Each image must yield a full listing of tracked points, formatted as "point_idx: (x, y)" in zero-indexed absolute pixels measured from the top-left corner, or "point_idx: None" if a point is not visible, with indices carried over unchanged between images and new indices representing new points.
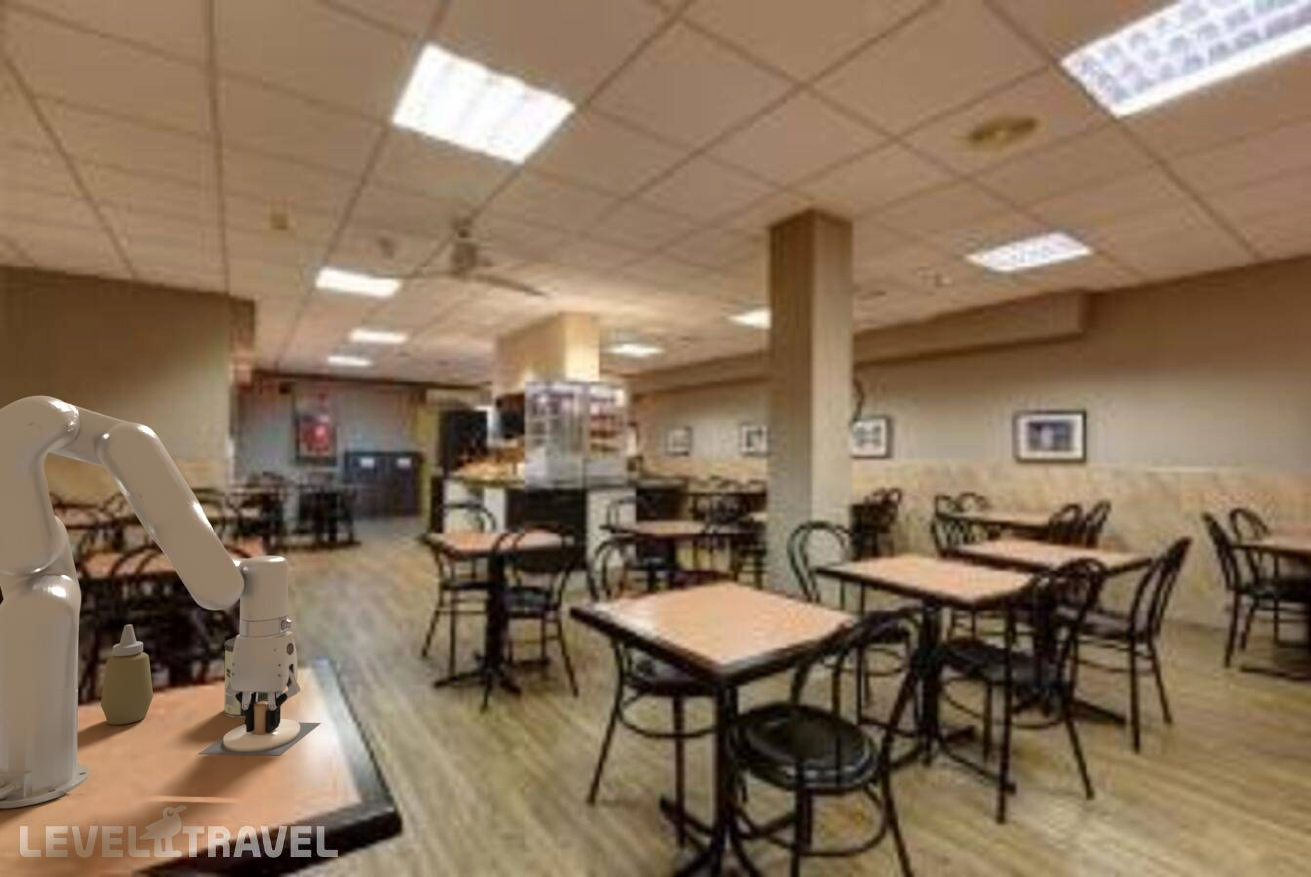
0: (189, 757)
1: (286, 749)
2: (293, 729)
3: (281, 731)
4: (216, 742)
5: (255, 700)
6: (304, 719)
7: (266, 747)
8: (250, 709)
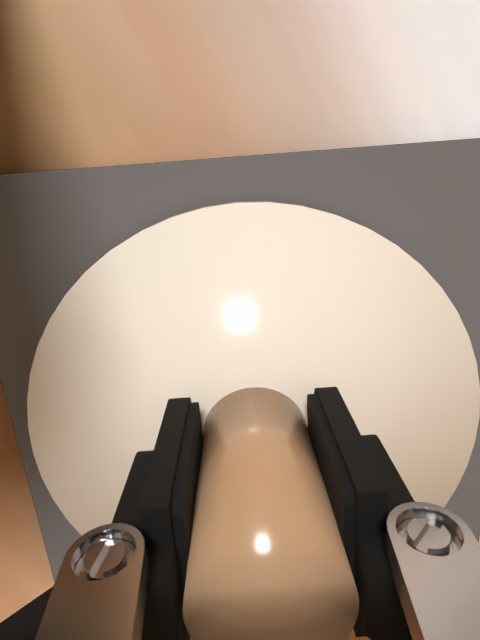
0: (27, 596)
1: (475, 526)
2: (440, 376)
3: (374, 413)
4: (39, 502)
5: (143, 595)
6: (321, 5)
7: None
8: (184, 633)
